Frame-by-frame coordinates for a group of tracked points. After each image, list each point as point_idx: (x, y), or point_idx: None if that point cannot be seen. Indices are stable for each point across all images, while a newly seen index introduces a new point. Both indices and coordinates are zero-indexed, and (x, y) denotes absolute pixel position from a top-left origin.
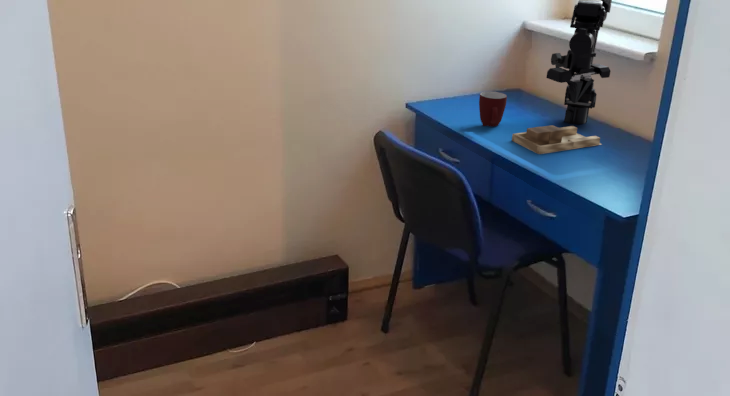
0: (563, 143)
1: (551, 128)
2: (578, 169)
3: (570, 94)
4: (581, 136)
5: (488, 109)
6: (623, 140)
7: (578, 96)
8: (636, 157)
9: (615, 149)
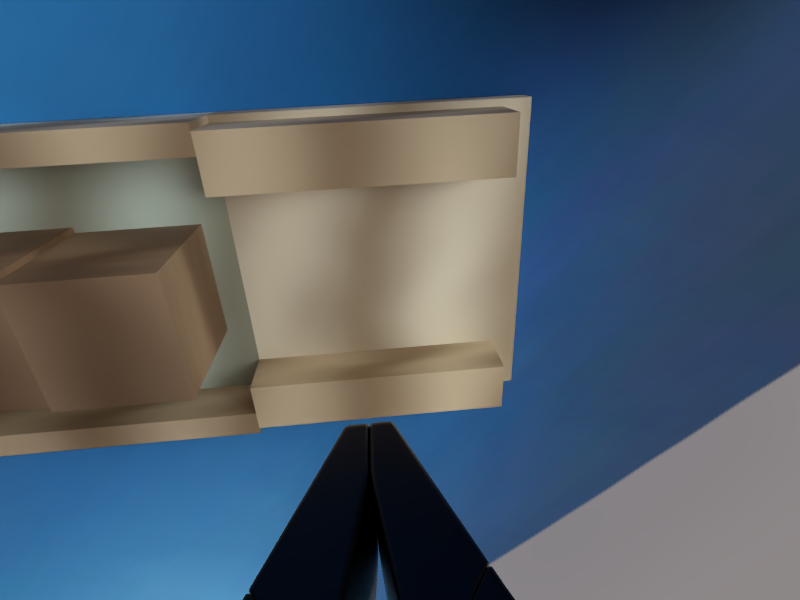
0: (169, 437)
1: (97, 349)
2: (168, 556)
3: (289, 523)
4: (500, 219)
5: None
6: (742, 298)
7: (387, 598)
8: (556, 502)
9: (556, 403)
